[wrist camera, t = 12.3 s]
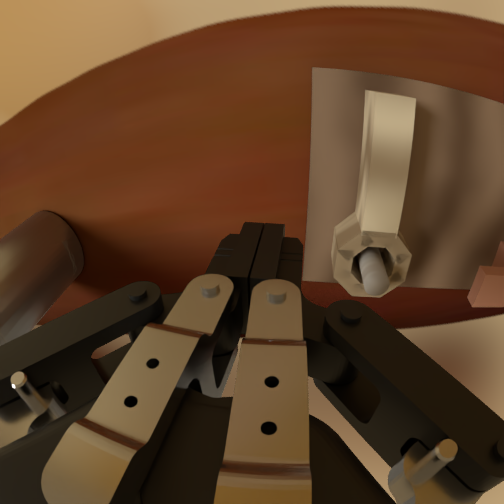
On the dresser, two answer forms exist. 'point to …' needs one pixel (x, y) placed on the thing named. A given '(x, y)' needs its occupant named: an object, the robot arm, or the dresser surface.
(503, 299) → the keeper
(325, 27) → the dresser surface
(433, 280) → the hinge base
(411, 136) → the birch link
